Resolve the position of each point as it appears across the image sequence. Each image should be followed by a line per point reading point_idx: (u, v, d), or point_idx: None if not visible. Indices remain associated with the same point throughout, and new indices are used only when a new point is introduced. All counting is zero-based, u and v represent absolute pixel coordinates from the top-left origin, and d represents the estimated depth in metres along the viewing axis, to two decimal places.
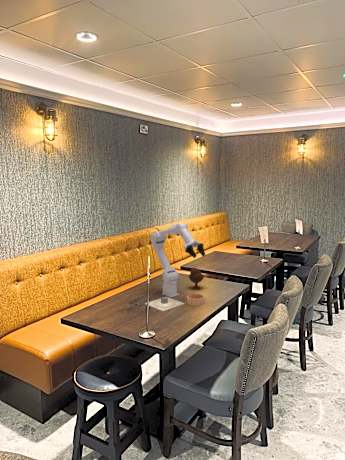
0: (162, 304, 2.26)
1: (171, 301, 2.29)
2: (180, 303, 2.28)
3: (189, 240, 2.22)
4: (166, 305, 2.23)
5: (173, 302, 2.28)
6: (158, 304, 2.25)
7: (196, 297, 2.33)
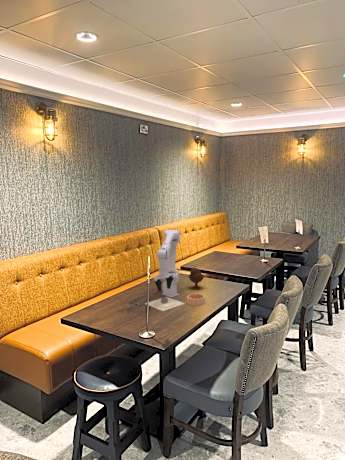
0: (162, 304, 2.26)
1: (171, 301, 2.29)
2: (180, 303, 2.28)
3: (163, 273, 2.22)
4: (166, 305, 2.23)
5: (173, 302, 2.28)
6: (158, 304, 2.25)
7: (196, 297, 2.33)
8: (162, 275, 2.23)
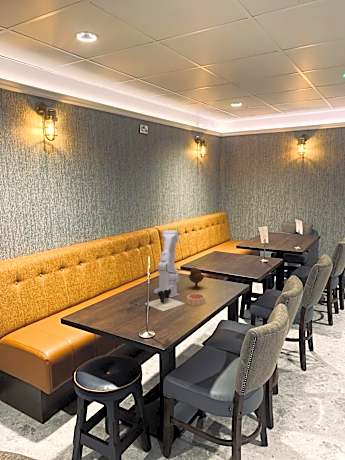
0: (162, 304, 2.26)
1: (171, 301, 2.29)
2: (180, 303, 2.28)
3: (163, 285, 2.24)
4: (166, 305, 2.23)
5: (173, 302, 2.28)
6: (158, 304, 2.25)
7: (196, 297, 2.33)
8: (162, 287, 2.24)
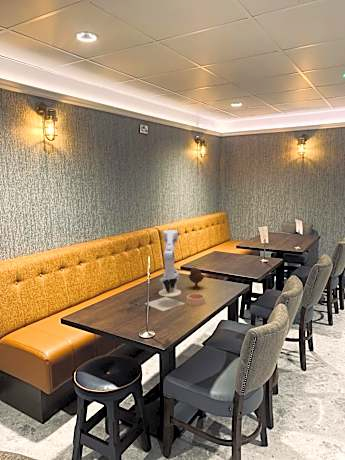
0: (168, 293, 2.25)
1: (177, 291, 2.28)
2: (180, 303, 2.28)
3: (169, 274, 2.23)
4: (172, 294, 2.22)
5: (179, 291, 2.27)
6: (163, 293, 2.24)
7: (196, 297, 2.33)
8: (168, 276, 2.23)
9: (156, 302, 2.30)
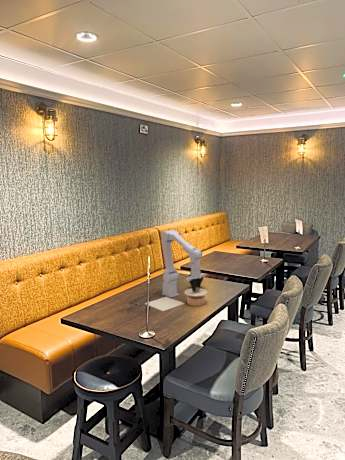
0: (194, 293, 2.25)
1: (203, 291, 2.29)
2: (180, 303, 2.28)
3: (195, 273, 2.23)
4: (198, 294, 2.23)
5: (205, 291, 2.28)
6: (190, 293, 2.25)
7: (196, 297, 2.33)
8: (194, 275, 2.23)
9: (156, 302, 2.30)
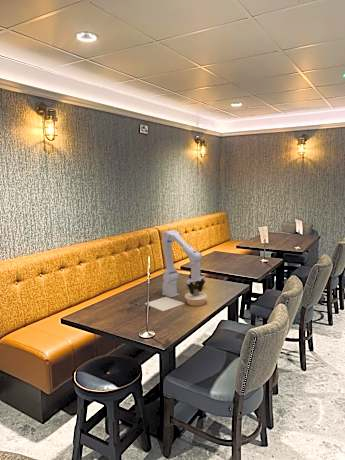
0: (194, 296, 2.26)
1: (203, 294, 2.29)
2: (180, 303, 2.28)
3: (195, 276, 2.23)
4: (198, 298, 2.23)
5: (205, 295, 2.28)
6: (190, 297, 2.25)
7: None
8: (194, 278, 2.23)
9: (156, 302, 2.30)
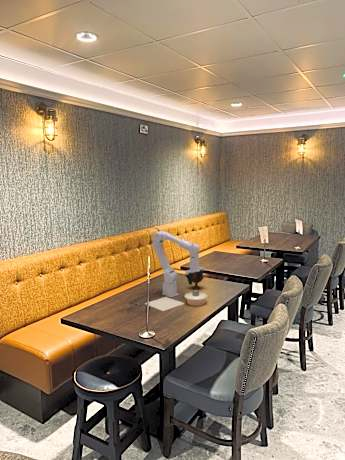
0: (194, 296, 2.26)
1: (203, 294, 2.29)
2: (180, 303, 2.28)
3: (194, 267, 2.33)
4: (198, 298, 2.23)
5: (205, 295, 2.28)
6: (190, 297, 2.25)
7: None
8: (193, 269, 2.34)
9: (156, 302, 2.30)
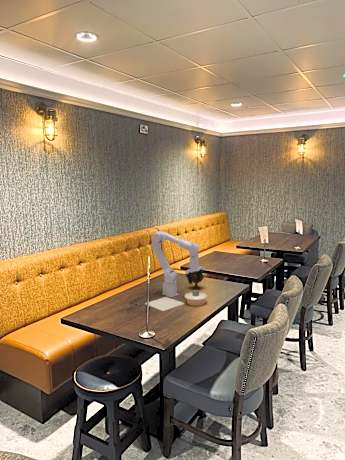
0: (194, 296, 2.26)
1: (203, 294, 2.29)
2: (180, 303, 2.28)
3: (194, 266, 2.35)
4: (198, 298, 2.23)
5: (205, 295, 2.28)
6: (190, 297, 2.25)
7: None
8: (193, 268, 2.35)
9: (156, 302, 2.30)
